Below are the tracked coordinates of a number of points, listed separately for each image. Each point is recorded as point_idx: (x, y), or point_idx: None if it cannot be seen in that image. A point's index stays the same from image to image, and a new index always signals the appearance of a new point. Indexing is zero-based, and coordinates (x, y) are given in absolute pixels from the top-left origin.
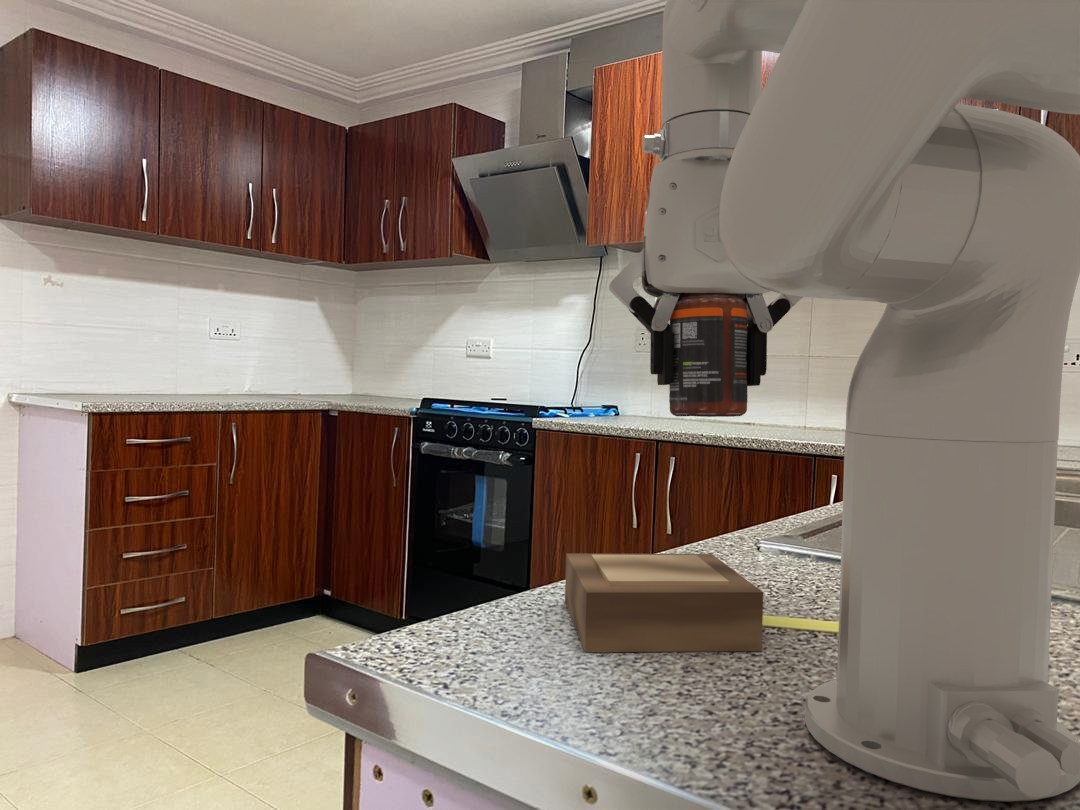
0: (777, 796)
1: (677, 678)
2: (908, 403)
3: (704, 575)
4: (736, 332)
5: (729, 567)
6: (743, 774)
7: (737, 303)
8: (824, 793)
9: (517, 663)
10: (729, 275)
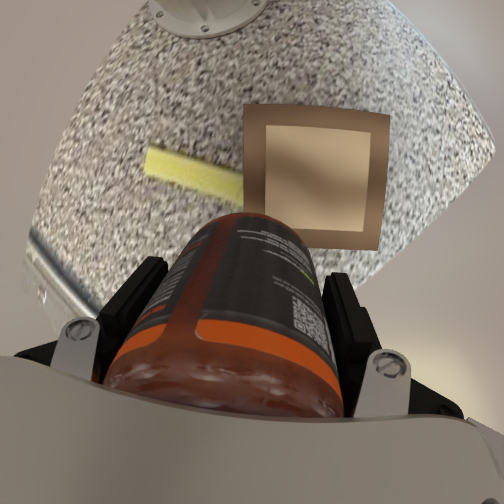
0: None
1: (323, 65)
2: None
3: (282, 145)
4: (165, 295)
5: (244, 190)
6: None
7: (126, 364)
8: None
9: (415, 107)
10: (114, 449)
